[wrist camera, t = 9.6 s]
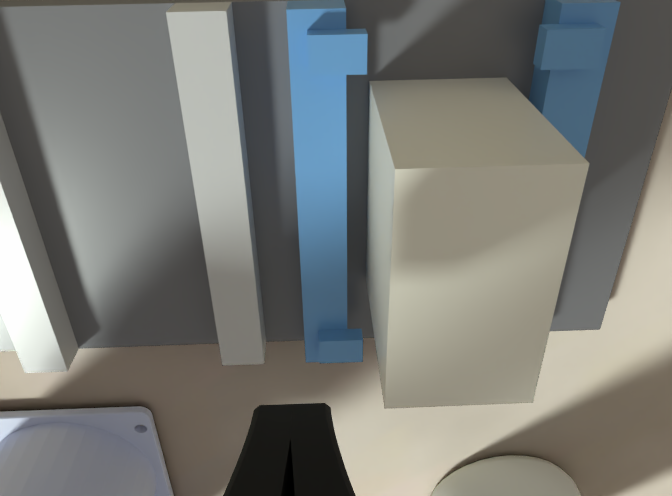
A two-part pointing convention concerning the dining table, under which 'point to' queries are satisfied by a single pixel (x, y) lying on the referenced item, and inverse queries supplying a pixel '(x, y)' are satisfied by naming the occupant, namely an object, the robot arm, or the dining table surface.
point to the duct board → (275, 158)
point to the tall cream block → (464, 238)
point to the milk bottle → (508, 479)
